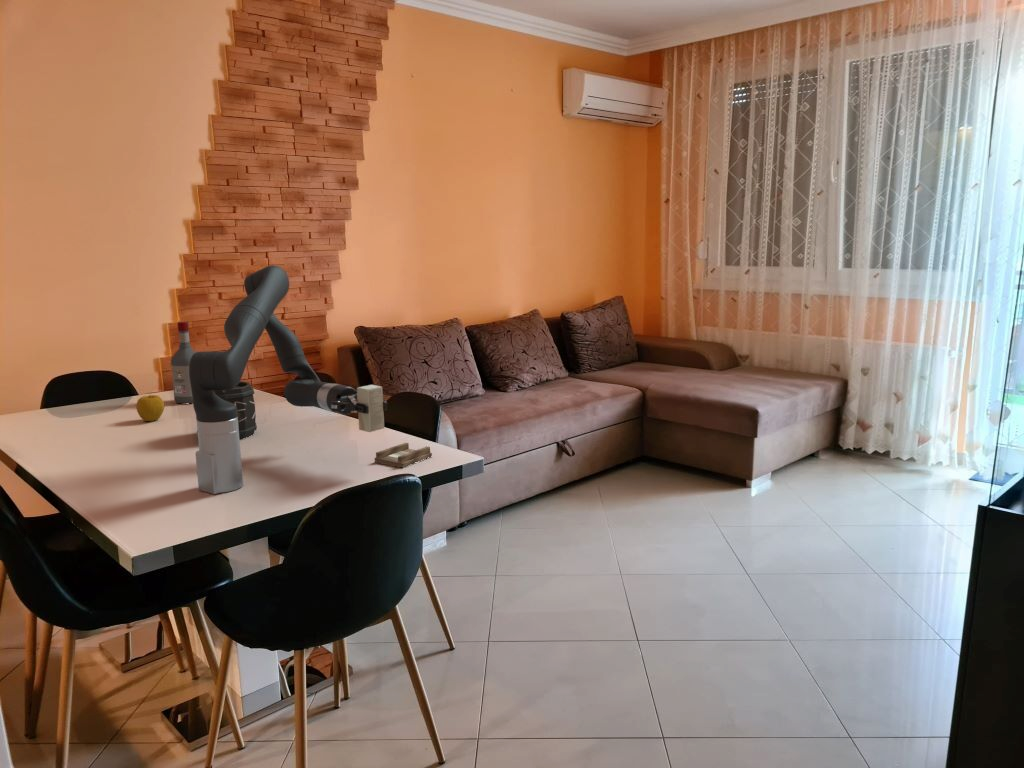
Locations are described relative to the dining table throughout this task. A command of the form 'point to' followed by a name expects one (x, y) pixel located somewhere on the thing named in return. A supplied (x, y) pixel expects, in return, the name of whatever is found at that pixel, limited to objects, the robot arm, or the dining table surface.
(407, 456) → the shallow brown tray
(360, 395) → the box
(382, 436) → the dining table surface
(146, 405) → the apple
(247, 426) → the dark ribbed cylinder
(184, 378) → the liquor
